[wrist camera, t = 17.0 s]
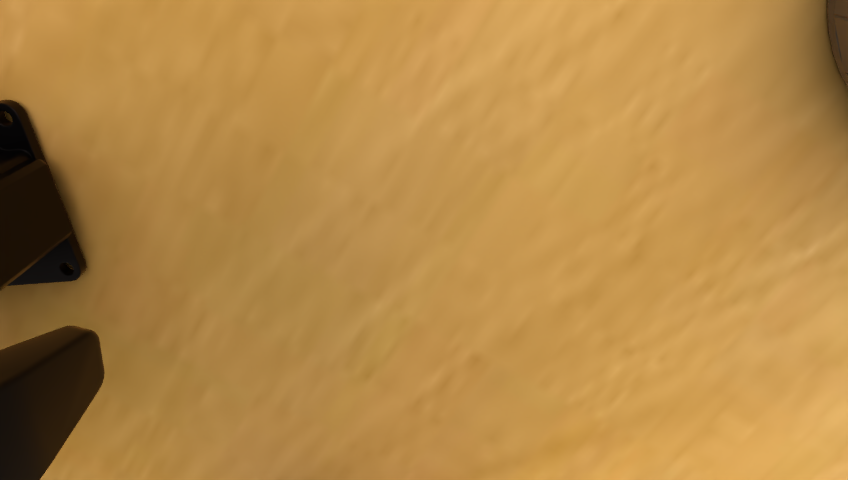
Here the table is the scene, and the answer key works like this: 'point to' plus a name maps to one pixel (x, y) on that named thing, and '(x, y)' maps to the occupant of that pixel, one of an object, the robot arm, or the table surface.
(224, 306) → the table surface
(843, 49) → the stack base cup
